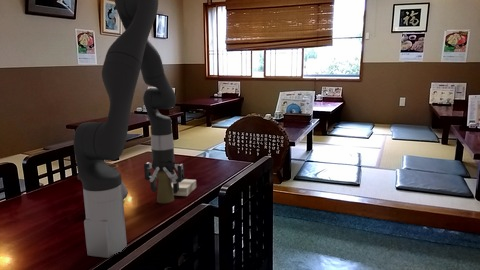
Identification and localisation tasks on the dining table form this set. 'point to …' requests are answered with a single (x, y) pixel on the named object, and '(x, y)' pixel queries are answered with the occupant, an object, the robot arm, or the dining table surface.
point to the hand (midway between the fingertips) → (165, 192)
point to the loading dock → (185, 187)
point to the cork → (164, 188)
